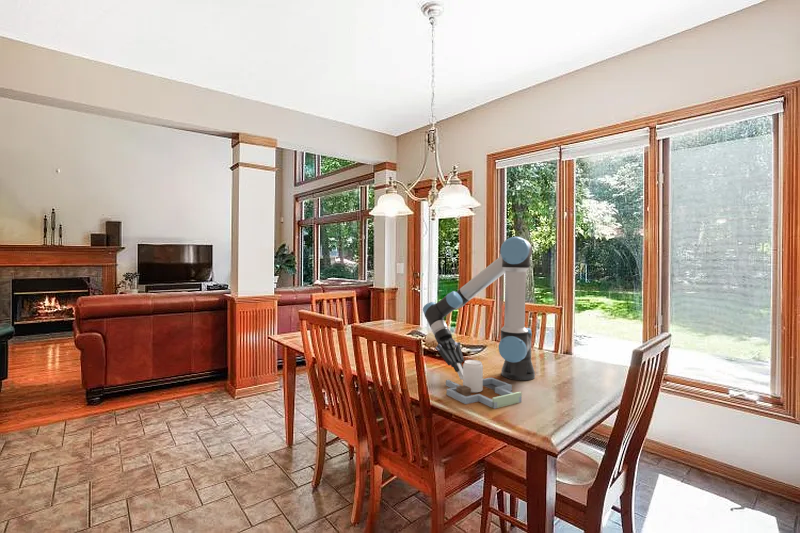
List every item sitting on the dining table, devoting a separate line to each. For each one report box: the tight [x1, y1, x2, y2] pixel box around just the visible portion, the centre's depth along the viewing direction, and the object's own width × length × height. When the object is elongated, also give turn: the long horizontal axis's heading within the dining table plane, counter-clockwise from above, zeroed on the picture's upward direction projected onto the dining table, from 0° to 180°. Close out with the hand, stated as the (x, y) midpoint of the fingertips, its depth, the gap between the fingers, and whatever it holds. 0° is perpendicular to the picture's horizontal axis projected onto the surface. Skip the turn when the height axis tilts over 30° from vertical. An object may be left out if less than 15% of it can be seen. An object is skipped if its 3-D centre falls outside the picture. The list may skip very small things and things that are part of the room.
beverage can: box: [462, 359, 484, 394], centre depth 165 cm, size 8×8×12 cm
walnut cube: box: [457, 384, 472, 396], centre depth 156 cm, size 4×4×4 cm
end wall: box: [491, 391, 523, 409], centre depth 148 cm, size 1×14×4 cm, turn 120°
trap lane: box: [445, 376, 522, 409], centre depth 161 cm, size 30×27×2 cm
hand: (463, 377), depth 169 cm, fingers closed
